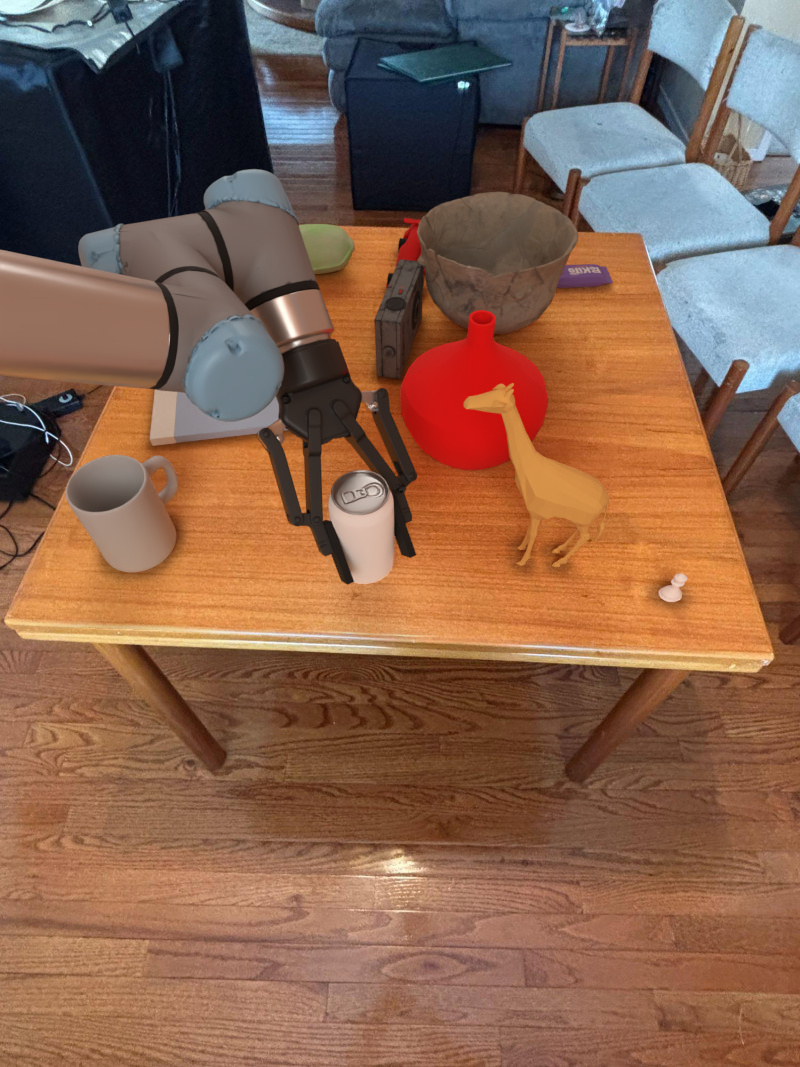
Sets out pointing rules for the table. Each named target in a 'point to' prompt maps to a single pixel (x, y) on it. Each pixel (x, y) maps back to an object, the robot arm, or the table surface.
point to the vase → (451, 379)
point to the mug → (125, 509)
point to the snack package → (584, 276)
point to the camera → (398, 319)
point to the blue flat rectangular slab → (199, 420)
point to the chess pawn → (673, 589)
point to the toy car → (409, 245)
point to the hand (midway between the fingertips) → (378, 567)
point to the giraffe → (545, 478)
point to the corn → (327, 247)
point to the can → (364, 524)
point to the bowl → (495, 257)
